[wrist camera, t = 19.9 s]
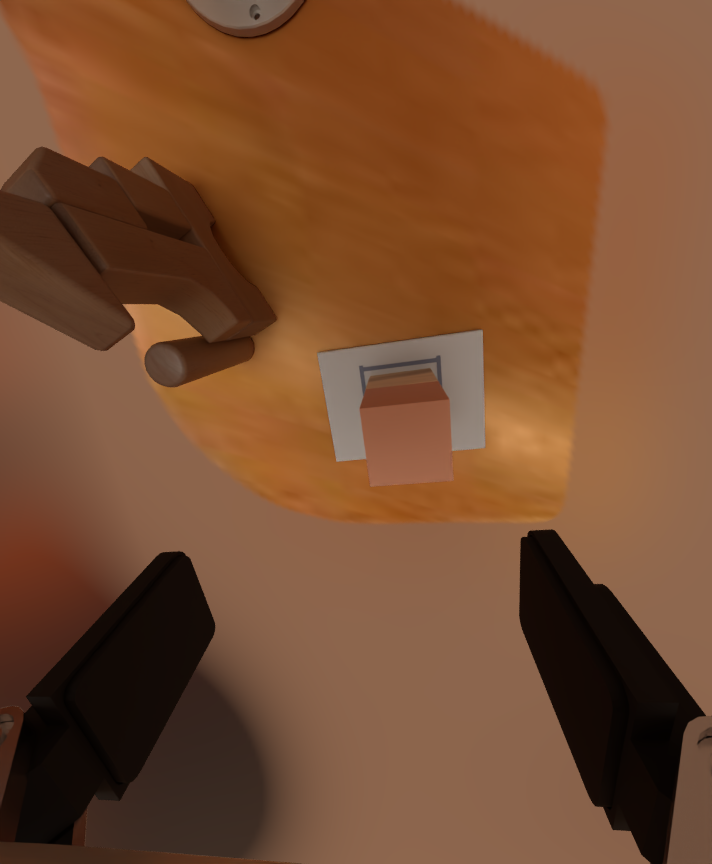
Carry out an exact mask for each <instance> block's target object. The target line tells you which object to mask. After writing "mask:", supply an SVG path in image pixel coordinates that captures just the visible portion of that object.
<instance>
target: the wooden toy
mask: <svg viewBox="0 0 712 864" xmlns="http://www.w3.org/2000/svg"><path fill="white" fill-rule="evenodd" d="M214 223H215V220H214V218H213V217H212V215H211V213H210V212H209V210H208V209H207V207H206V205H205V204H204V202H203V201H202V199H201V198H200V196H199V194H198V193H197V191H196V190H195V188H194V186H193V185H192V184H190V183H189V182H187V181H185V180H184V179H182V178H180V177H179V176H177V175H176V174H174V173H172V172H171V171H169V170H167V169H166V168H164V167H162V166H161V165H159V164H158V163H156V162H154V161H153V160H151V159H149V158H148V157H144V158H143V159H142V160H141V161H139V162H138V163H137V164H136V165H135V166H134V167H133V168H132V169H131V170H128V169H126V168H124V167H122V166H120V165H118V164H116V163H114V162H112V161H110V160H108V159H106V158H105V157H98V158H97V159H96V160H95V161H94V162H93V163H92V164H91V165H90V166H89V167H87V166H85V165H83V164H81V163H78V162H76V161H74V160H72V159H70V158H68V157H65V156H63V155H61V154H59V153H57V152H54V151H52V150H50V149H48V148H45V147H39V148H36V149H35V150H34V151H33V152H32V153H31V155H30V156H29V157H28V158H27V159H26V160H25V161H24V162H23V163H22V165H21V166H20V167H19V168H18V169H17V170H16V171H15V172H14V173H13V174H12V176H11V177H10V178H9V179H8V180H7V181H6V182H5V183H4V185H3V186H2V188H1V190H0V301H2V302H3V303H6V304H7V305H9V306H11V307H13V308H15V309H17V310H19V311H21V312H23V313H25V314H27V315H29V316H31V317H33V318H35V319H37V320H39V321H40V322H42V323H45V324H46V325H48V326H50V327H52V328H54V329H56V330H58V331H60V332H62V333H64V334H66V335H68V336H70V337H72V338H74V339H76V340H78V341H80V342H81V343H83V344H85V345H87V346H89V347H91V348H93V349H95V350H101V351H106V350H108V349H110V348H111V347H112V346H113V345H115V344H116V343H118V342H119V341H120V340H121V339H123V338H124V337H125V336H127V335H128V334H129V333H131V332H132V331H133V330H134V329H135V323H134V319H133V318H132V317H131V315H130V314H129V313H128V311H127V310H126V309H125V307H124V306H123V305H122V304H158V305H160V306H162V307H164V308H166V309H168V310H170V311H172V312H174V313H176V314H178V315H180V316H181V317H182V318H183V319H184V320H186V321H187V322H188V323H189V324H190V325H191V326H192V327H194V328H195V329H196V330H197V331H198V332H199V333H200V334H201V335H202V336H199V337H192V338H185V339H178V340H172V341H165V342H158V343H156V344H154V345H152V346H151V347H150V348H149V350H148V351H147V352H146V355H145V367H146V370H147V372H148V374H149V375H150V377H151V378H152V379H153V380H154V381H155V382H157V383H158V384H160V385H163V386H167V387H178V386H180V385H183V384H186V383H188V382H191V381H194V380H197V379H199V378H202V377H205V376H208V375H210V374H213V373H216V372H218V371H221V370H224V369H227V368H229V367H232V366H235V365H238V364H240V363H243V362H246V361H248V360H249V359H250V358H251V357H252V355H253V352H254V346H253V342H252V340H251V338H250V337H249V336H253V335H256V334H257V333H259V332H260V331H262V330H263V329H265V328H266V327H268V326H269V325H270V324H272V323H273V322H275V321H276V320H277V319H276V316H275V315H274V313H273V311H272V310H271V308H270V307H269V305H268V304H267V302H266V300H265V299H264V297H263V296H262V294H261V292H260V291H259V289H258V288H257V287H256V286H254V285H251V284H250V283H249V282H248V281H247V280H246V279H244V278H243V277H242V276H241V275H240V273H239V272H238V271H237V270H236V269H235V268H234V267H233V266H232V264H231V263H230V262H229V260H228V259H227V257H226V256H225V255H224V253H223V252H222V250H221V249H220V247H219V245H218V244H217V242H216V240H215V238H214V237H213V234H212V231H211V228H210V227H211V226H212V225H213V224H214Z"/></svg>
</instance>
